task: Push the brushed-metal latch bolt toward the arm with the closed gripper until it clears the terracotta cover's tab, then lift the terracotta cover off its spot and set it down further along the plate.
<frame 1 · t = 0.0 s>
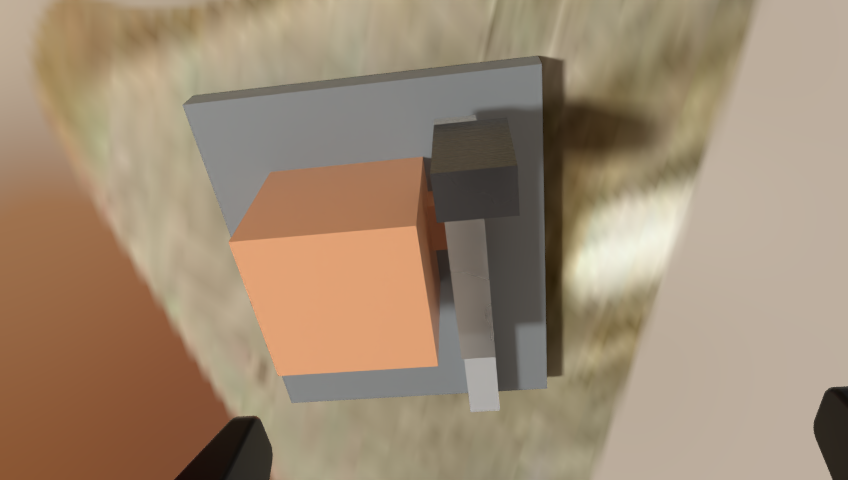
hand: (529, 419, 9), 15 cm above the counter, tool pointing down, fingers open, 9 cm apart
latch plate: (393, 254, 25), on the counter
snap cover: (360, 230, 24), point 1 cm above the counter, touching latch plate
latch bolt: (483, 271, 20), point 5 cm above the counter, slide at 0.0 cm
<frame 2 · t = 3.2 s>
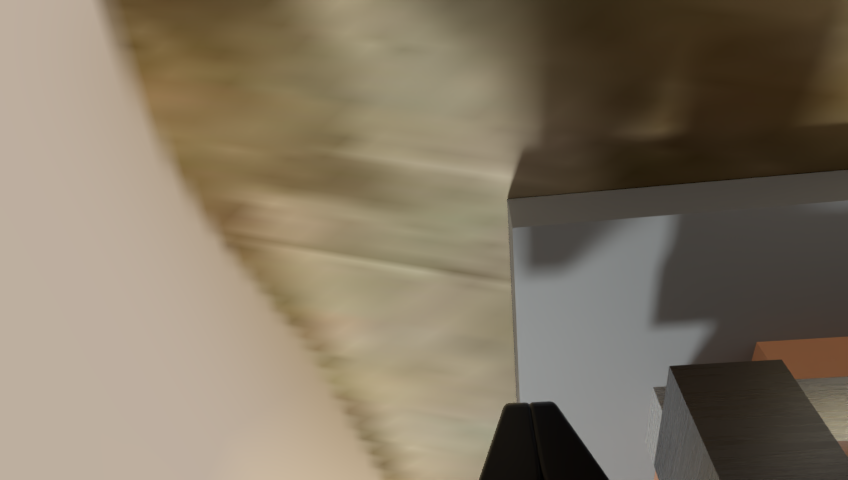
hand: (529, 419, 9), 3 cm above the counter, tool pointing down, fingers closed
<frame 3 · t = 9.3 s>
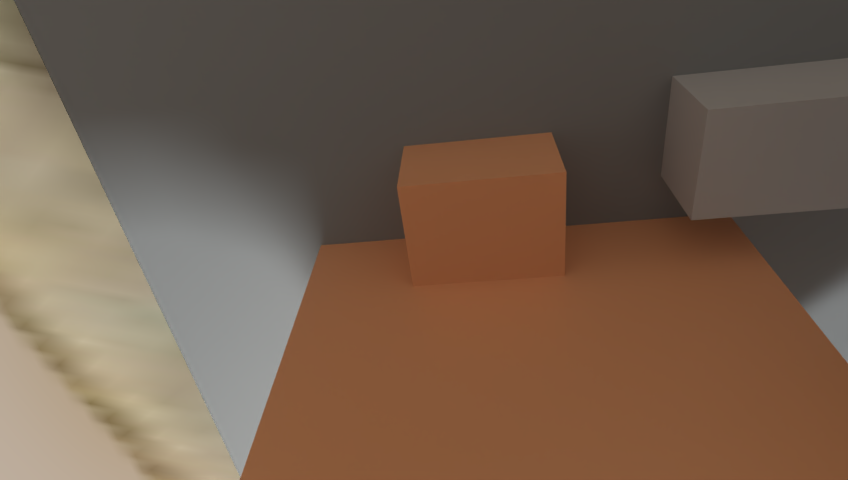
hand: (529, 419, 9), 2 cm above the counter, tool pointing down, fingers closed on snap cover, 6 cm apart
latch plate: (628, 285, 10), on the counter
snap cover: (522, 372, 10), point 1 cm above the counter, touching gripper, latch plate
when the fingers open (3 cm above the counter, at t = 12.9 s): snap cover stays where it is, resting on latch plate.
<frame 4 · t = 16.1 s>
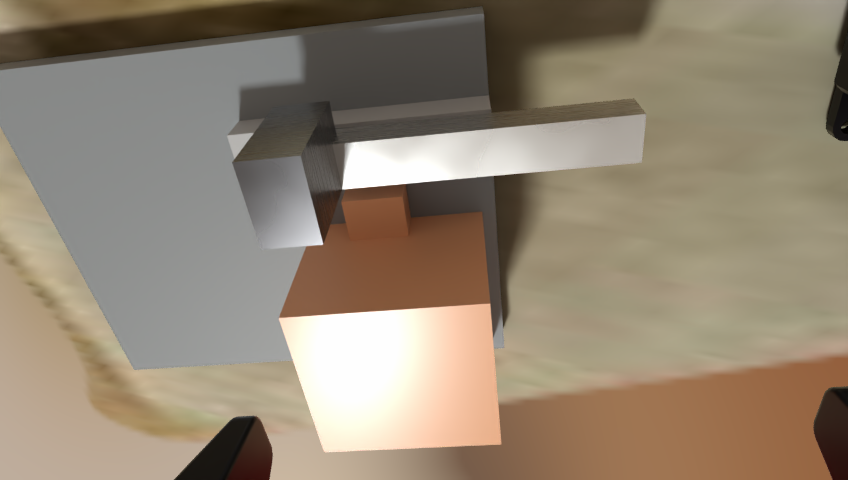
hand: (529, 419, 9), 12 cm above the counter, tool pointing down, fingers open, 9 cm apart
latch plate: (279, 214, 21), on the counter
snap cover: (408, 286, 22), point 1 cm above the counter, touching latch plate
latch bolt: (456, 152, 15), point 5 cm above the counter, slide at 9.0 cm
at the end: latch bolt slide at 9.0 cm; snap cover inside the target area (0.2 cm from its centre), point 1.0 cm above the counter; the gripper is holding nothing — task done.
